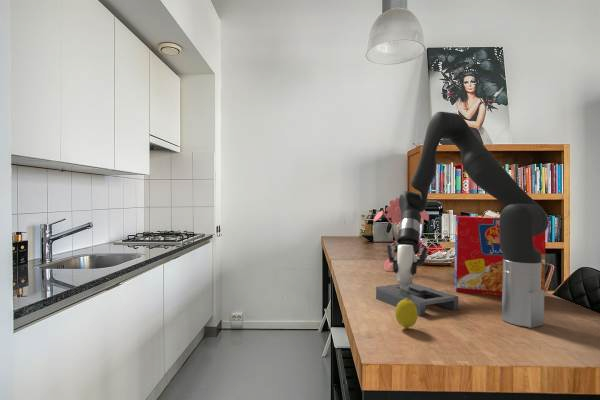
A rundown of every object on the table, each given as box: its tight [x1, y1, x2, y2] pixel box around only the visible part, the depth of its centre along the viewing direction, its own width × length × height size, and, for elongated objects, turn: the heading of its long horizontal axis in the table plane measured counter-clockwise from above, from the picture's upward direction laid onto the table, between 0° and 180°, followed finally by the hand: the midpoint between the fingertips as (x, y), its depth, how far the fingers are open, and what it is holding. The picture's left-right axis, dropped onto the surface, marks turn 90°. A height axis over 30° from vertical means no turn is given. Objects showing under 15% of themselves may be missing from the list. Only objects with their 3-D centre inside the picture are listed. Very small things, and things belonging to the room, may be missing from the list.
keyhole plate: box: [375, 282, 459, 317], centre depth 116 cm, size 20×16×4 cm
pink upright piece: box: [373, 197, 430, 278], centre depth 164 cm, size 15×26×35 cm, turn 62°
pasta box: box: [453, 215, 547, 297], centre depth 131 cm, size 28×8×28 cm, turn 72°
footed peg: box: [396, 245, 414, 295], centre depth 120 cm, size 6×6×18 cm
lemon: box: [395, 298, 418, 330], centre depth 93 cm, size 6×6×8 cm
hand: (404, 272), depth 119 cm, fingers closed on footed peg, 5 cm apart
